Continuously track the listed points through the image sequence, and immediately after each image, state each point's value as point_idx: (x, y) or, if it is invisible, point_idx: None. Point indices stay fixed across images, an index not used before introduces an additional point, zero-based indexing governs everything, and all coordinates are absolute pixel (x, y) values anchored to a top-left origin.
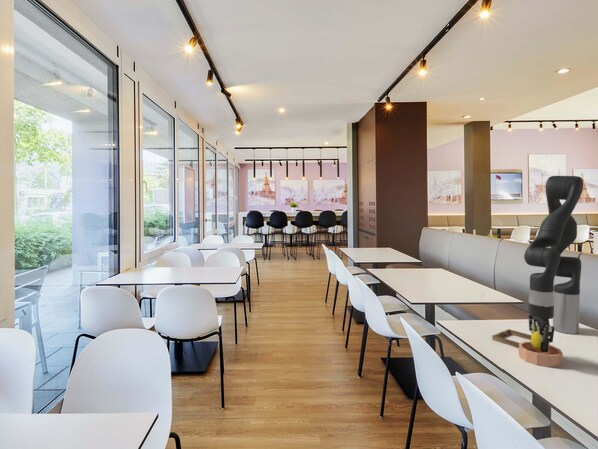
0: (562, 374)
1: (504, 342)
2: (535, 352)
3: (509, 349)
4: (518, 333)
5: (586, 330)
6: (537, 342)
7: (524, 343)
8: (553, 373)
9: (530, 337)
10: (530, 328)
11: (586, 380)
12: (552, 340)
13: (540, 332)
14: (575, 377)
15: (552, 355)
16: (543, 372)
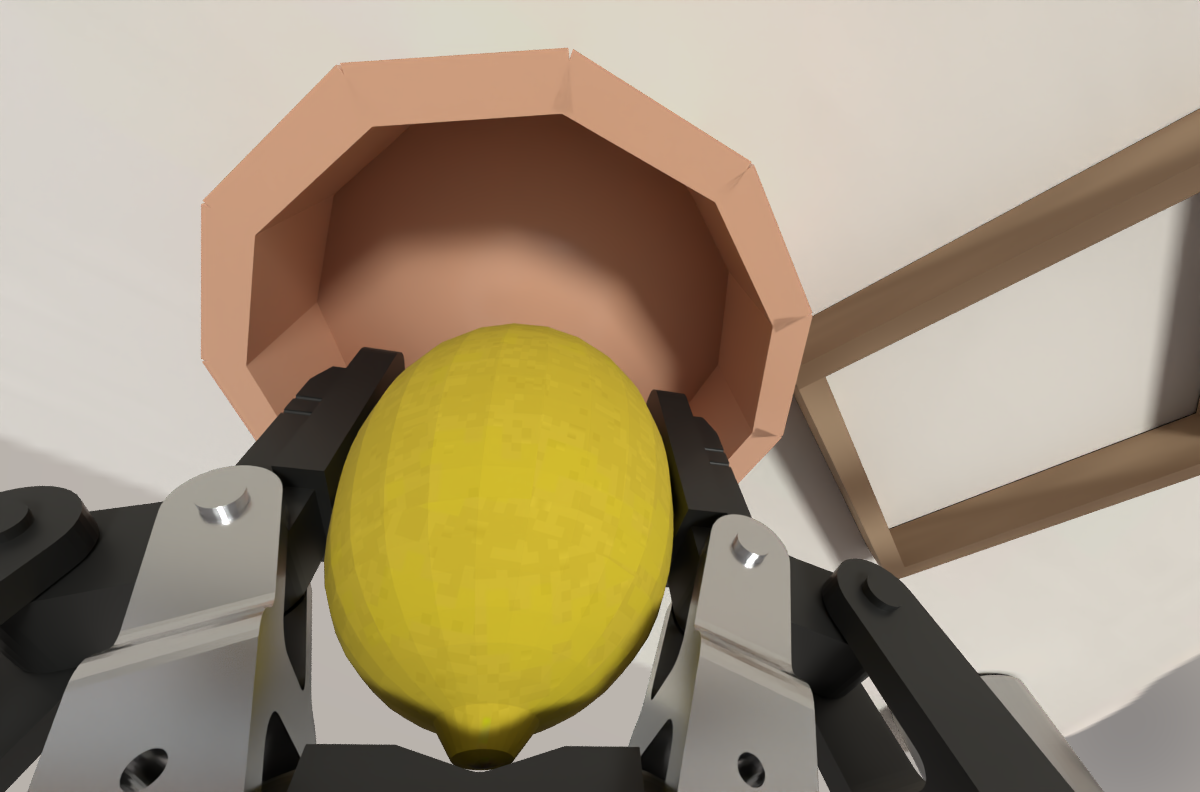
0: (119, 310)
1: (1094, 176)
2: (661, 364)
3: (886, 101)
4: (1121, 478)
5: (903, 743)
6: (382, 403)
7: (758, 300)
8: (88, 219)
9: (985, 518)
10: (874, 632)
11: (77, 436)
12: (5, 658)
13: (78, 744)
14: (102, 388)
15: (243, 409)
16: (37, 82)
